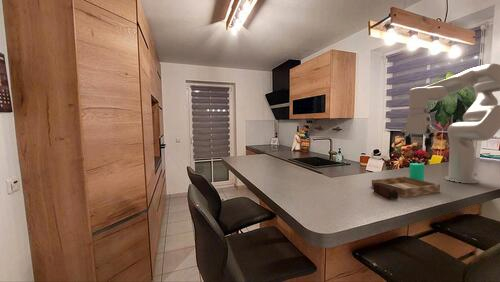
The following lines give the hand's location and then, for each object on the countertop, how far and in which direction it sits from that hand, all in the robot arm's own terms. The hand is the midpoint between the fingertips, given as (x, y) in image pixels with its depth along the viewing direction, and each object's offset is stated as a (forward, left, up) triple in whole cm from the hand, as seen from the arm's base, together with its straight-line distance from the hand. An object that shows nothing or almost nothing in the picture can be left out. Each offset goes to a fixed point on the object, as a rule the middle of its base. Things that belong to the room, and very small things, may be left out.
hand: (417, 145), depth 108 cm
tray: (+15, +5, -20) cm, 26 cm away
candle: (0, 0, -20) cm, 20 cm away
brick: (+31, +9, -21) cm, 38 cm away
